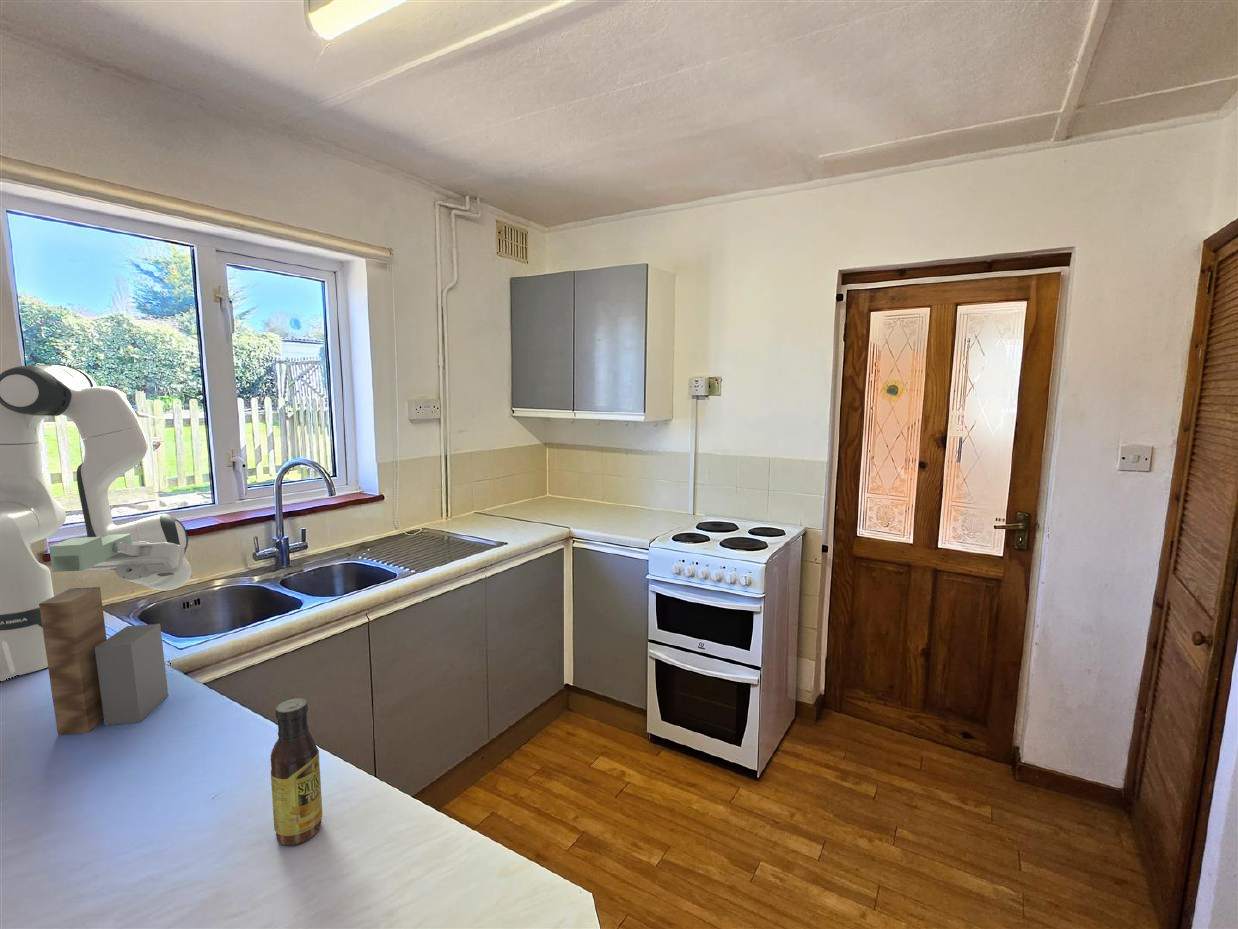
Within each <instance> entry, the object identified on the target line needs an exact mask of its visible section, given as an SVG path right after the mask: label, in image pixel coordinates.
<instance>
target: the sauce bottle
mask: <svg viewBox="0 0 1238 929" xmlns="http://www.w3.org/2000/svg"><path fill="white" fill-rule="evenodd" d="M308 706H309V705H308V701H307V700H306V699H304V698H300V697H299V698H297V697H295V698H291V699H287V700H285V701H283V702H281V703H279V704H278V705H277V706H276V707H275V718H276V720H277V730H278V731H277V737H278V739H277V741H276V742H275V744H274V745H273V748H272V750H271V754H270V767H271V769H270V784H271V797H272V799H271V800H272V813H273V828H274V829H273V830H274V832H275V837H276V838H275V839H276V841H277V842H278V844H280V845H283V846H296V845H299V844H302V843H304V842H306V841H308V840H310V839H311V838H313V837H314V836H315V835H316V834H317V833H318V832H319V830H320V829H321V825H322V819H323V799H322V783H321V782H322V781H321V768H320V766H321V765H320V751H319V750H320V749H318V747H317V745H316V743H315V740H314V738H313V737H312V734H311V732H310V731H309V725H308V711H309V707H308Z"/></svg>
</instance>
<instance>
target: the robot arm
mask: <svg viewBox="0 0 1238 929" xmlns="http://www.w3.org/2000/svg"><path fill="white" fill-rule="evenodd" d="M61 415H62V416H66V417H67V418H69V419H71V421H72V422H73V423H74V425H75V426H76V428H77V430H78V433H79V435H80V438H81V440H82V442H83V446H84V458H83V462H82V463H80V464H79V465H78V466H77V469H76V482H77V490H78V495H79V501H80V505H81V510H82V514H83V515H82V516H83V520H84V525H85V526H84V527H85V530H86V537H101V538H102V537H105V536H108V535H117V534H131V541H132V544H125V543H123V542H121V543H113V547H112V551H114V552H116V553H119V554H116V555H114V556H112V557H110V558H107V559H105V560H104V561H103V562H101V563H99V564H97V565H94V566H92V567H90V568H88V569H87V570H90V571H91V570H92V571H94V570H112V571H114V573H115V574H116V575H117V577H119V578H120V579H123V580H126V581H129V582H133V583H135V584H137V585H138V584H139V585H142V586H144V587H147V588H150V589H154V590H160V591H172V590H176V589H178V588H180V587H182V586H184V585H185V584H186V583H187V582H188V581H189V579H190V578H191V576H192V572H193V570H192V566H191V564H190V562H189V561H188V559H187V558H186V556H185V554H186V552H187V549H188V547H189V546H188V544H189V538H188V532H187V530H186V527H185V526H184V524H183V523H182V522H181V521H180V520H179V519H177V518H175V517H174V516H173V515H170V514H168V513H160V514H157V515H156V514H155V515H152V516H148V517H144V518H141V519H139V520H134V521H130V522H127V523H123V524H119V525H118V524H114V521H113V516H112V511H111V505H110V500H109V495H108V493H109V492H108V491H109V488H110V486H111V485H112V484H113V483H114V481H116V480H117V479H118V478H120V477H121V476H122V475H125V473H127V472H129V471H131V470H132V469H134V467H136V466H137V465H138V464H139V463H141V462H142V460H143V459H144V458H145V456H146V454H147V451H148V441H147V439H146V437H147V436H146V435H145V432H144V429H143V427H142V425H141V423H140V421H139V418H138V416H137V414H136V412H135V411H134V409H133V408H132V405H131V404H130V402H129V401H128V399H127V398H126V396H125V395H124V394H123V392H122V391H120V390H119V389H117V388H114V387H110V386H104V385H101V386H100V385H99V386H98V385H97V383H96V382H95V380H94V379H93V378H92V377H91V376H90V375H89V374H88V373H86V372H84V371H82V370H81V369H78V368H76V367H73V366H64V365H63V366H62V365H55V364H39V365H20V366H14V367H11V368H9V369H6V370H4V371H3V372H1V373H0V681H1V682H5V681H7V680H8V679H7V678H10V677H13V676H16V675H19V676H22V675H25V674H31V673H34V672H36V671H40V670H44V669H46V668H48V663H47V656H46V649H45V642H44V635H43V628H42V621H41V614H40V607H39V603H42V602H44V601H46V600H48V599H50V598H52V597H54V596H55V595H54V593H55V592H54V587H53V581H52V572H51V570H50V568H49V566H47V565H45V564H43V563H40V562H39V561H38V559H37V558H36V557H35V555H34V553H33V551H32V547H31V545H32V544H34V543H37V542H39V541H42V540H45V539H47V538H48V537H50V536H51V535H53V534H55V533H56V532H57V531H58V530H59V529H61V528H62V527H63V525H64V524H65V522H66V519H67V514H66V509H65V507H64V506H63V505H62V504H61V502H59V501H57V500H56V499H55V498H53V496H52V494H51V493H50V491H49V489H48V486H47V484H46V481H45V478H44V474H43V466H42V454H41V452H42V450H41V447H42V446H41V435H40V434H41V432H40V430H41V428H40V427H41V422H42V421H43V419H44V418H45V417H49V416H50V417H58V416H61ZM16 677H17V676H16ZM13 678H14V677H13ZM6 679H7V680H6ZM10 679H11V678H10Z"/></svg>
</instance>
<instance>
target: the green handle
mask: <svg viewBox="0 0 1238 929" xmlns="http://www.w3.org/2000/svg"><path fill="white" fill-rule="evenodd" d="M121 542H123V543H125V544H132V541H131V534H117V535H108V536H105V537H102V538H101V537H87V536H86V537H85V536H84V537H72V538H69V539H68V538H67V539H66V540H63V541H61V542H57V543H55V544H52V545H48V548H49V549H48V550H49V556H50V563H51V570H52V573H59V572H60V573H61V572H78V571H80V572H81V571H85V570H88V568H90V567H92V566H94V565H97V564H99V563H101V562H103V561H104V560H105V559H107V558H110V557H112V556H114V555H116V554H119V553H116V552H114V551H112V547H113V543H121Z"/></svg>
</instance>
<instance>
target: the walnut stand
mask: <svg viewBox="0 0 1238 929" xmlns="http://www.w3.org/2000/svg"><path fill="white" fill-rule="evenodd" d="M39 607H40V614H41V621H42V628H43V635H44V642H45V649H46V656H47V663H48V667H47V668H48V676H49V677H48V678H49V682H50V683H49V684H50V690H51V695H52V703H53V711H54V717H55V724H56V730H57V731H56V732H57V736H67V735H78V734H88V733H90V732H91V731H92V730H94V729H95V728H96V727H97V726H98V725H99V724H100V723H102V722H103V721H104V715H103V707H102V700H101V692H100V685H99V677H98V669H97V662H96V654H95V647H96V646H98V645H99V644H101V643H102V642H104V641H105V640H107V639H108V637H107V630H106V623H105V615H104V608H103V601H102V593H101V586H93V587H91V586H90V587H75V588H69V589H66V590H65V591H63V592H61V593H59V594H56V595H54V597H52V598H50V599H48V600H46V601H44V602H42V603H39Z"/></svg>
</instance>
